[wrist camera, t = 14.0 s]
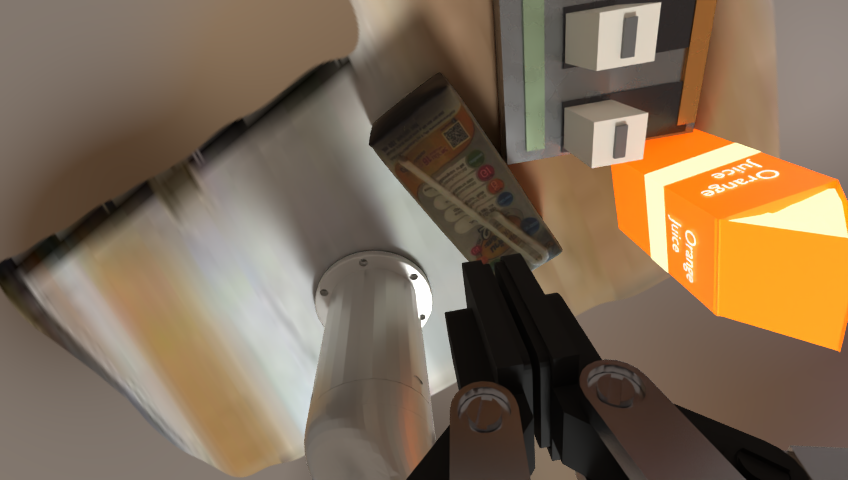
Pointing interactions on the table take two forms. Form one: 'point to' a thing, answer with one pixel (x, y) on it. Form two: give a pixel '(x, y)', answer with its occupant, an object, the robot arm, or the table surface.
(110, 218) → the table surface
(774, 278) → the orange juice
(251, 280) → the table surface
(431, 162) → the beverage carton
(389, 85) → the table surface
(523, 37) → the panel
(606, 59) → the breaker mid
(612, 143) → the breaker
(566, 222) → the table surface
